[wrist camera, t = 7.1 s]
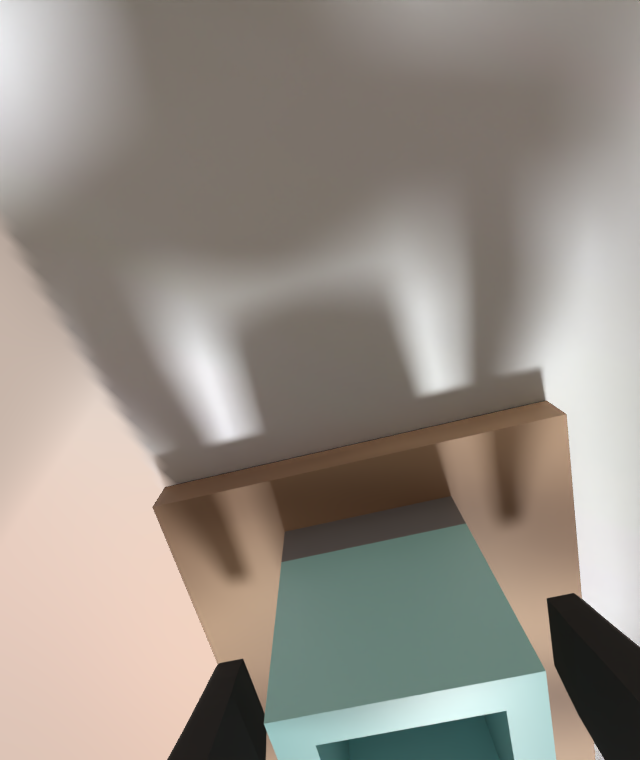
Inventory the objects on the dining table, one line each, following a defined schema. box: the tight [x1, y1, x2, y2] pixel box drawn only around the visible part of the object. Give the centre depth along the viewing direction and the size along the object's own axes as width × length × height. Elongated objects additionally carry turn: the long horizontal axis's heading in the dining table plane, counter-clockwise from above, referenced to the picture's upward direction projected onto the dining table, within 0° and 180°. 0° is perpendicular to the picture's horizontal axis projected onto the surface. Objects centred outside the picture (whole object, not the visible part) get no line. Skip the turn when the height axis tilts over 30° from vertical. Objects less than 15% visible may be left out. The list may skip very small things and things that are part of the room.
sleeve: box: [264, 496, 556, 760], centre depth 10 cm, size 5×5×5 cm
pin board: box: [153, 401, 595, 760], centre depth 13 cm, size 18×11×4 cm, turn 14°
